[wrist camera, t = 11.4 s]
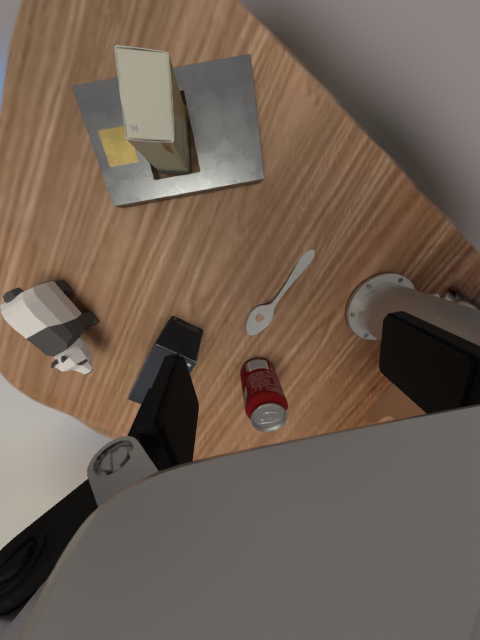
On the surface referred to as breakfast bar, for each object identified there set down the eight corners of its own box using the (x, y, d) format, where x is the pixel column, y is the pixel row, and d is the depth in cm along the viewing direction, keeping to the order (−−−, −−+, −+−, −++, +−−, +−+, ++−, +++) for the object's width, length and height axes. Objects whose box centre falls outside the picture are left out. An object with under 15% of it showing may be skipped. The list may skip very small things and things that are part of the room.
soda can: (242, 355, 43) (250, 399, 32) (276, 357, 44) (295, 401, 33) (238, 384, 46) (243, 434, 34) (270, 386, 46) (286, 435, 35)
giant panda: (32, 287, 35) (-31, 307, 26) (60, 271, 35) (6, 285, 26) (96, 357, 41) (62, 393, 32) (121, 344, 40) (94, 377, 31)
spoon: (238, 325, 41) (239, 329, 40) (315, 227, 36) (319, 227, 34) (256, 337, 42) (257, 341, 41) (333, 243, 37) (337, 244, 35)
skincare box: (191, 176, 31) (175, 147, 20) (159, 174, 31) (125, 144, 20) (189, 117, 29) (169, 47, 18) (154, 115, 29) (111, 42, 17)
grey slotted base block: (247, 71, 28) (250, 53, 25) (260, 182, 32) (264, 178, 29) (86, 100, 27) (71, 85, 25) (122, 208, 32) (113, 206, 29)
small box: (170, 313, 39) (153, 342, 29) (204, 329, 40) (199, 362, 31) (146, 360, 42) (124, 400, 32) (179, 373, 44) (167, 415, 34)
